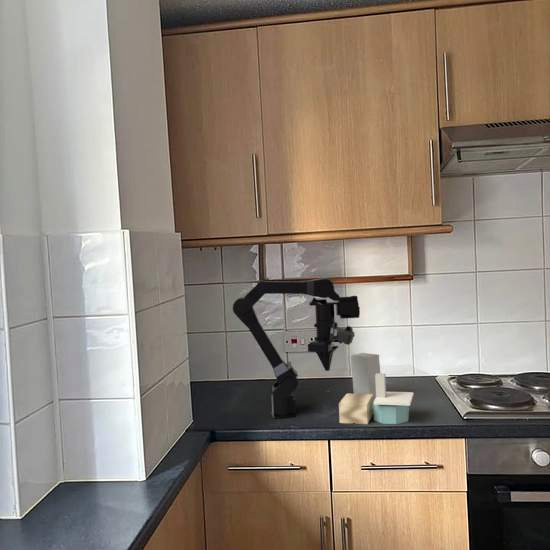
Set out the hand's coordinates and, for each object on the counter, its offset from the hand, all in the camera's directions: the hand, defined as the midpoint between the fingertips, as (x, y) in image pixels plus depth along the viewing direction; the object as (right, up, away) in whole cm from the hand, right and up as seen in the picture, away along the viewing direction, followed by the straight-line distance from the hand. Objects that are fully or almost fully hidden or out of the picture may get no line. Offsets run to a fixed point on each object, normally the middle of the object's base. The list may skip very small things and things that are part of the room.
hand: (327, 370), depth 180 cm
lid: (+18, -7, -10) cm, 22 cm away
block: (+8, -13, -6) cm, 16 cm away
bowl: (+18, -13, -9) cm, 24 cm away
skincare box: (+15, -12, +15) cm, 24 cm away
